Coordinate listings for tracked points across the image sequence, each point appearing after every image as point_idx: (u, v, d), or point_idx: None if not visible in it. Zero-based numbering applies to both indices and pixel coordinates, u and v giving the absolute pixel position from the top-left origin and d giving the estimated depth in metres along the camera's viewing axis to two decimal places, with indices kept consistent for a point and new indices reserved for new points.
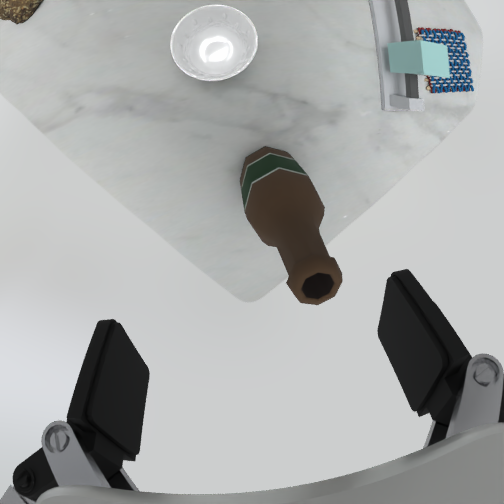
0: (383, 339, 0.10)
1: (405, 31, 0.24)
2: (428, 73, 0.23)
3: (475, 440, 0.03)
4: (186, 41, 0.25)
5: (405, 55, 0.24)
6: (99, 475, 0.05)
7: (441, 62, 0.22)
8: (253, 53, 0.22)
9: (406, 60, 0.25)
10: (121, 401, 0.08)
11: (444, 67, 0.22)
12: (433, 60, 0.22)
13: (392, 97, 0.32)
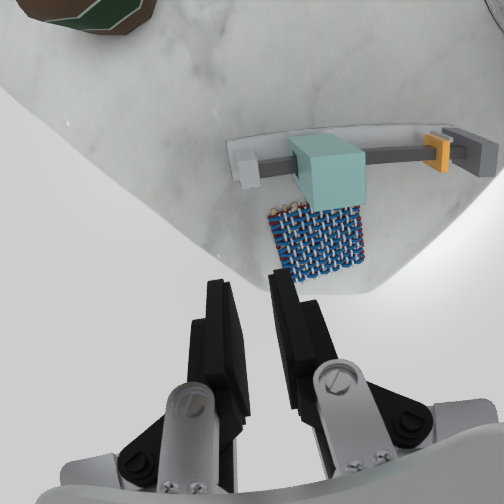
0: (277, 335, 0.11)
1: None
2: (313, 167, 0.19)
3: (475, 440, 0.03)
4: None
5: (326, 143, 0.21)
6: (215, 462, 0.05)
7: (336, 193, 0.20)
8: None
9: (318, 144, 0.21)
10: (239, 359, 0.09)
11: (329, 199, 0.20)
12: (337, 177, 0.20)
13: (248, 148, 0.26)
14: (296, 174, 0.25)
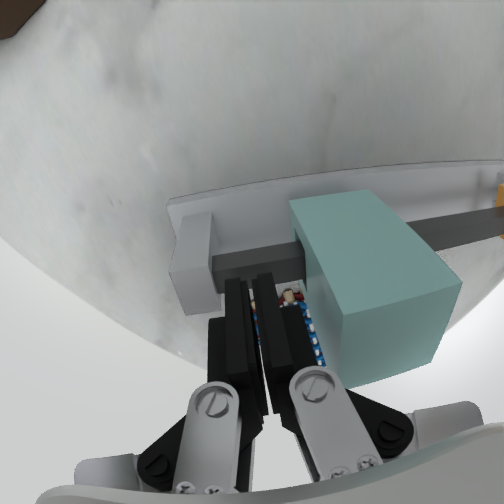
0: None
1: None
2: (348, 331, 0.08)
3: (475, 440, 0.03)
4: None
5: (370, 235, 0.10)
6: (234, 465, 0.05)
7: (386, 361, 0.09)
8: None
9: (355, 239, 0.10)
10: (258, 357, 0.09)
11: (369, 372, 0.09)
12: (394, 339, 0.08)
13: (204, 219, 0.15)
14: None
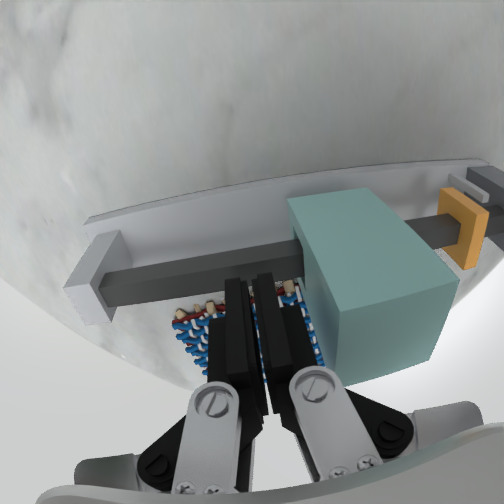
0: None
1: (294, 256, 0.12)
2: (344, 328, 0.08)
3: (475, 440, 0.03)
4: None
5: (368, 233, 0.10)
6: (234, 465, 0.05)
7: (383, 359, 0.09)
8: None
9: (353, 237, 0.10)
10: (258, 357, 0.09)
11: (367, 370, 0.09)
12: (391, 336, 0.08)
13: (110, 237, 0.15)
14: None
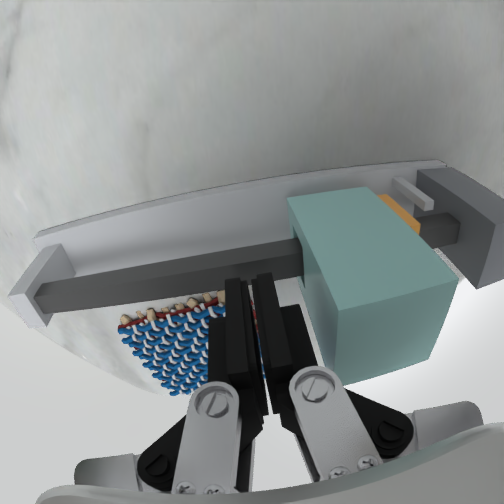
0: None
1: (186, 274, 0.12)
2: (343, 327, 0.08)
3: (475, 440, 0.03)
4: None
5: (367, 231, 0.10)
6: (234, 465, 0.05)
7: (382, 358, 0.09)
8: None
9: (352, 236, 0.10)
10: (258, 357, 0.09)
11: (366, 368, 0.09)
12: (391, 335, 0.08)
13: (51, 250, 0.15)
14: None
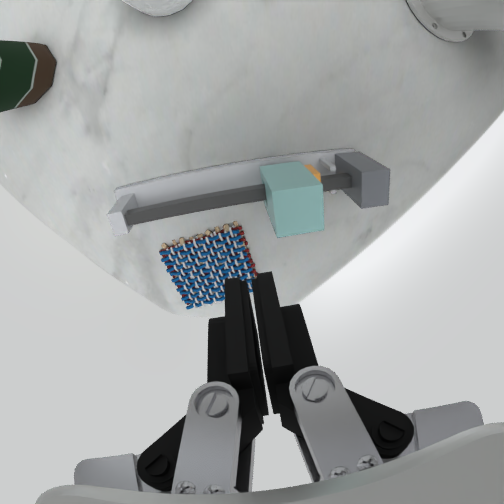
0: None
1: (213, 197, 0.27)
2: (275, 199, 0.22)
3: (475, 440, 0.03)
4: None
5: (290, 174, 0.25)
6: (234, 465, 0.05)
7: (297, 221, 0.24)
8: None
9: (283, 176, 0.25)
10: (258, 357, 0.09)
11: (290, 227, 0.24)
12: (296, 208, 0.23)
13: (129, 196, 0.30)
14: (266, 200, 0.29)
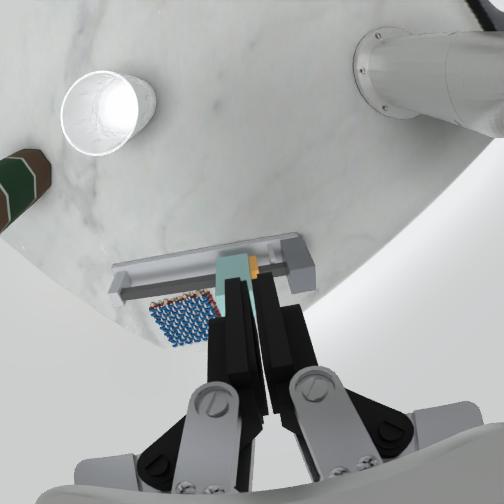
0: None
1: (181, 285, 0.37)
2: (218, 300, 0.32)
3: (475, 440, 0.03)
4: None
5: (234, 274, 0.35)
6: (234, 465, 0.05)
7: None
8: (89, 153, 0.23)
9: (229, 275, 0.35)
10: (258, 357, 0.09)
11: None
12: None
13: (122, 274, 0.40)
14: None
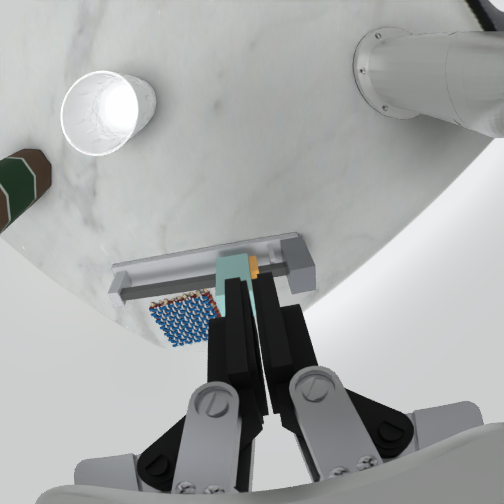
0: None
1: (181, 285, 0.37)
2: (218, 300, 0.32)
3: (475, 440, 0.03)
4: None
5: (234, 274, 0.35)
6: (234, 465, 0.05)
7: None
8: (89, 153, 0.23)
9: (229, 275, 0.35)
10: (258, 357, 0.09)
11: None
12: None
13: (123, 274, 0.40)
14: None
